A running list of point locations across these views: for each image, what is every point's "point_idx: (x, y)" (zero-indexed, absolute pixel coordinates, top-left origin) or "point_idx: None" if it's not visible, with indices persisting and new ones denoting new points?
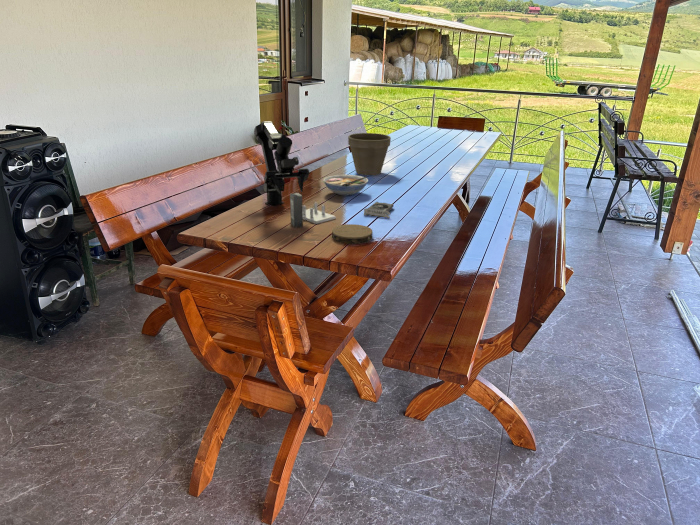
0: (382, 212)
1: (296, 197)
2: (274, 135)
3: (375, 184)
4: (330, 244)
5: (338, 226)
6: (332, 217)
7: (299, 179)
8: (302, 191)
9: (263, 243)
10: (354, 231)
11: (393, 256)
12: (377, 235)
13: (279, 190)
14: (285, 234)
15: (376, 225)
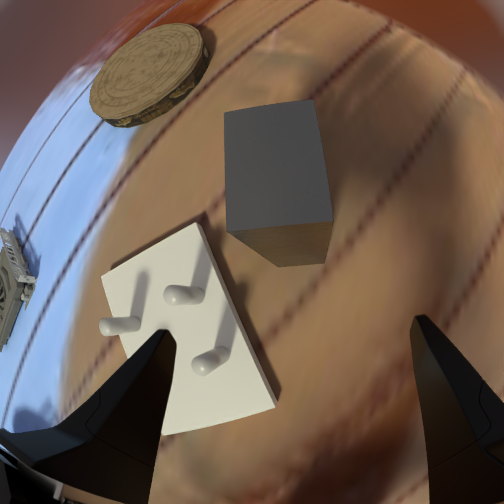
0: (6, 241)
1: (285, 109)
2: None
3: None
4: (234, 31)
5: (154, 95)
6: (115, 269)
7: (109, 479)
8: (162, 330)
9: (443, 74)
10: (139, 59)
11: (146, 4)
12: None
13: (443, 334)
14: (372, 123)
15: (52, 171)
